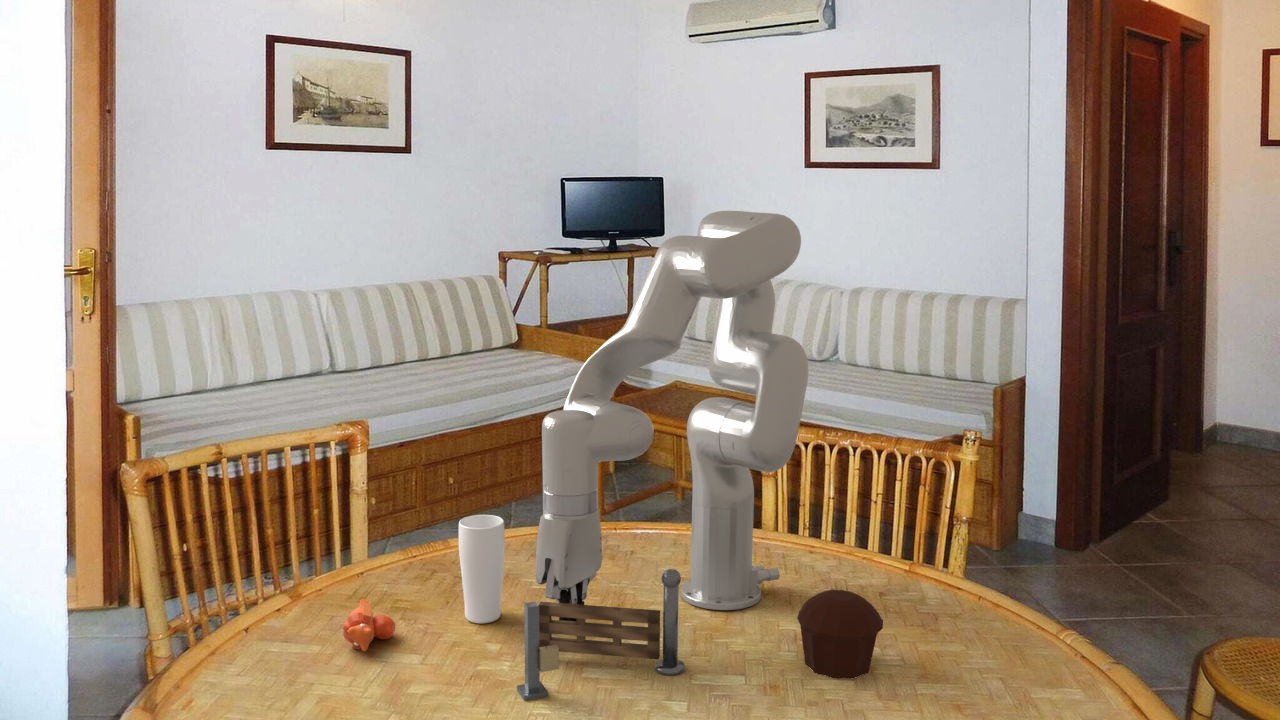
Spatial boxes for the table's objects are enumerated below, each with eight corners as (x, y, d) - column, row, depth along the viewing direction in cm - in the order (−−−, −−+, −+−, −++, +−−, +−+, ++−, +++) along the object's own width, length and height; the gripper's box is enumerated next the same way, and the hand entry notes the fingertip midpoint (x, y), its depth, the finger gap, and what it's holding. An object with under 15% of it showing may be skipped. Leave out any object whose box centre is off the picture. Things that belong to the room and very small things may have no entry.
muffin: (778, 659, 158) (780, 590, 156) (834, 640, 164) (837, 573, 163) (842, 692, 148) (845, 619, 147) (899, 670, 155) (902, 599, 153)
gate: (659, 655, 155) (660, 610, 154) (658, 659, 154) (658, 613, 153) (541, 646, 158) (540, 601, 157) (538, 650, 157) (538, 604, 155)
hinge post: (677, 660, 157) (678, 562, 155) (689, 672, 153) (691, 572, 151) (650, 665, 156) (651, 566, 153) (662, 677, 152) (663, 576, 149)
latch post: (550, 683, 150) (550, 596, 148) (558, 694, 147) (558, 606, 145) (516, 689, 148) (515, 601, 146) (524, 700, 145) (523, 611, 143)
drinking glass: (497, 628, 167) (496, 530, 164) (453, 624, 168) (451, 526, 166) (511, 611, 174) (510, 515, 171) (469, 607, 175) (467, 512, 172)
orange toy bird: (348, 587, 167) (348, 619, 156) (398, 599, 169) (401, 632, 158) (338, 619, 168) (337, 654, 156) (388, 631, 170) (390, 665, 158)
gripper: (579, 483, 164) (580, 604, 168) (514, 511, 152) (517, 641, 155) (623, 491, 161) (623, 615, 164) (560, 520, 148) (562, 654, 151)
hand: (571, 627), depth 160 cm, fingers closed
